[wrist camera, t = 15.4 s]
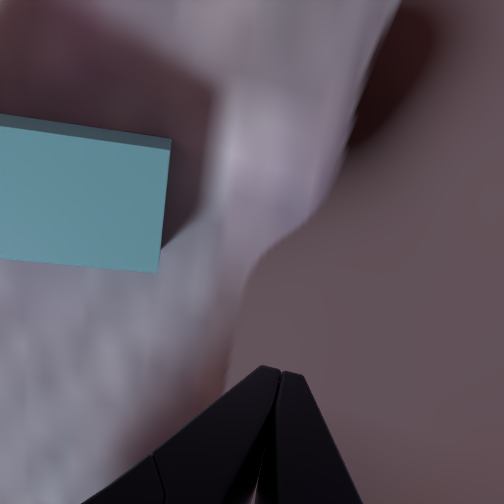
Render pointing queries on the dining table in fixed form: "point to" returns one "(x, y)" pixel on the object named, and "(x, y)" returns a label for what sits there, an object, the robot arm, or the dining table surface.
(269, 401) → the robot arm
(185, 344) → the dining table surface
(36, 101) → the dining table surface
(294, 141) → the dining table surface
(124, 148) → the domino
